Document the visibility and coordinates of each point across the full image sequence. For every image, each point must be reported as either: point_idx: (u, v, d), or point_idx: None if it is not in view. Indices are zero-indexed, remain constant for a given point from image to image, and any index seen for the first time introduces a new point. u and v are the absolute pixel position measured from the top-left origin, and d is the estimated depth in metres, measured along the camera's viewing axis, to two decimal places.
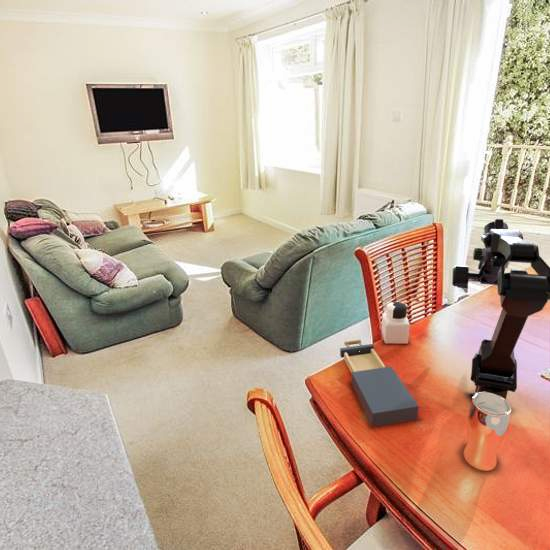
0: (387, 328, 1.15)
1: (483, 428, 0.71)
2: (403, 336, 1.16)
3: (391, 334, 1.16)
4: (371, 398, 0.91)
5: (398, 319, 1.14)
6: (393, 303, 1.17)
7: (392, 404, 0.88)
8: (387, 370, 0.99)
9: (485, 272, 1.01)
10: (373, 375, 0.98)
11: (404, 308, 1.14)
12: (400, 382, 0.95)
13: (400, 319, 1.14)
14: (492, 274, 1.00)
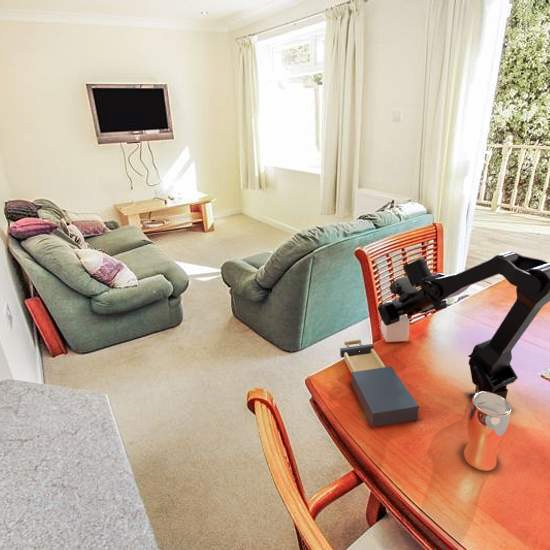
0: (387, 326, 1.15)
1: (483, 428, 0.71)
2: (404, 334, 1.16)
3: (392, 332, 1.16)
4: (371, 398, 0.91)
5: None
6: (391, 301, 1.17)
7: (392, 404, 0.88)
8: (387, 370, 0.99)
9: (418, 310, 1.05)
10: (373, 375, 0.98)
11: None
12: (400, 382, 0.95)
13: (400, 316, 1.15)
14: (423, 310, 1.05)
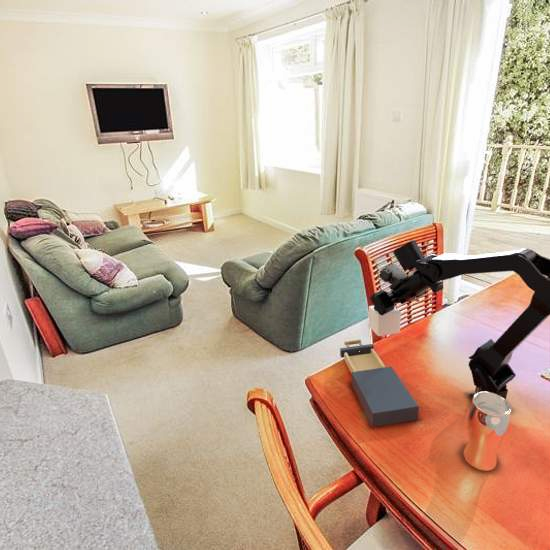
0: (379, 319, 1.09)
1: (483, 428, 0.71)
2: (395, 326, 1.11)
3: (384, 325, 1.10)
4: (371, 398, 0.91)
5: None
6: None
7: (392, 404, 0.88)
8: (387, 370, 0.99)
9: (413, 295, 1.00)
10: (373, 375, 0.98)
11: None
12: (400, 382, 0.95)
13: None
14: (417, 295, 1.01)
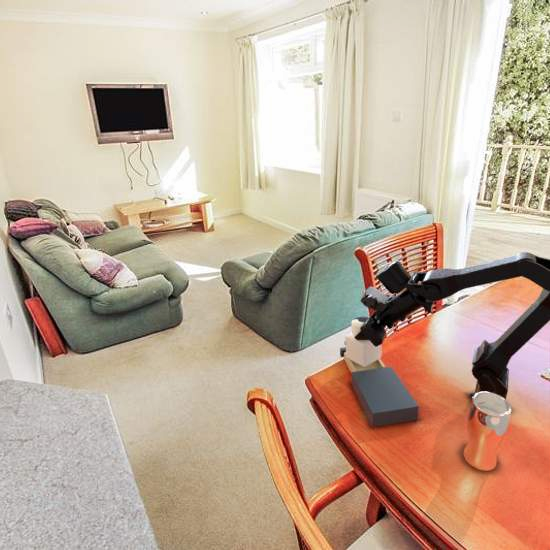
0: (365, 349, 1.00)
1: (483, 428, 0.71)
2: (378, 351, 1.03)
3: (368, 354, 1.01)
4: (371, 398, 0.91)
5: None
6: (357, 319, 1.02)
7: (392, 404, 0.88)
8: (387, 370, 0.99)
9: (404, 318, 0.93)
10: (373, 375, 0.98)
11: None
12: (400, 382, 0.95)
13: None
14: None
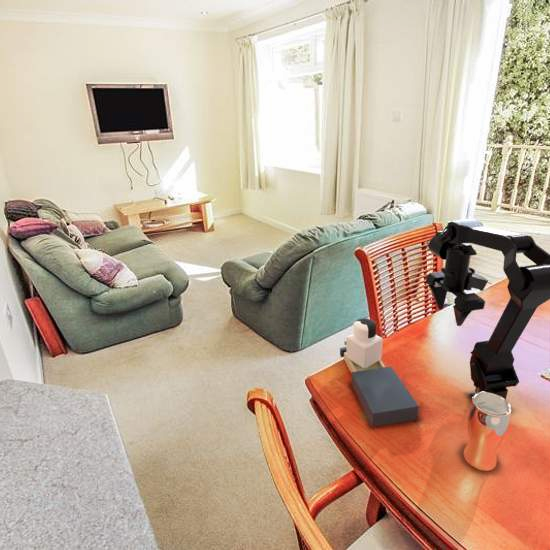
0: (366, 351, 1.00)
1: (483, 428, 0.71)
2: (378, 354, 1.03)
3: (369, 356, 1.01)
4: (371, 398, 0.91)
5: (373, 337, 1.01)
6: (360, 322, 1.02)
7: (392, 404, 0.88)
8: (387, 370, 0.99)
9: (443, 267, 1.01)
10: (373, 375, 0.98)
11: (374, 323, 1.01)
12: (400, 382, 0.95)
13: (374, 336, 1.01)
14: (445, 271, 0.99)
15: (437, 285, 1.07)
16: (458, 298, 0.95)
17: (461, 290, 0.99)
